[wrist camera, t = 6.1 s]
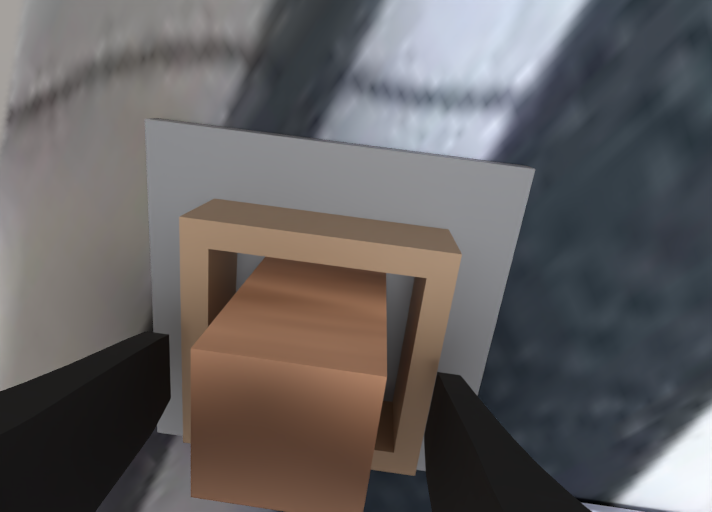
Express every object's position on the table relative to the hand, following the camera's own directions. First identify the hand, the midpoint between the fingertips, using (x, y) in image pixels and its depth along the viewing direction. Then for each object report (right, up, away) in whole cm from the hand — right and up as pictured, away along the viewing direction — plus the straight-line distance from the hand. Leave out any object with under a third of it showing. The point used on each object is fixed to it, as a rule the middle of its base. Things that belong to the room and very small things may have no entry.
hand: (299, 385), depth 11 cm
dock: (0, +1, +4) cm, 5 cm away
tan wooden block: (0, +1, +4) cm, 4 cm away
